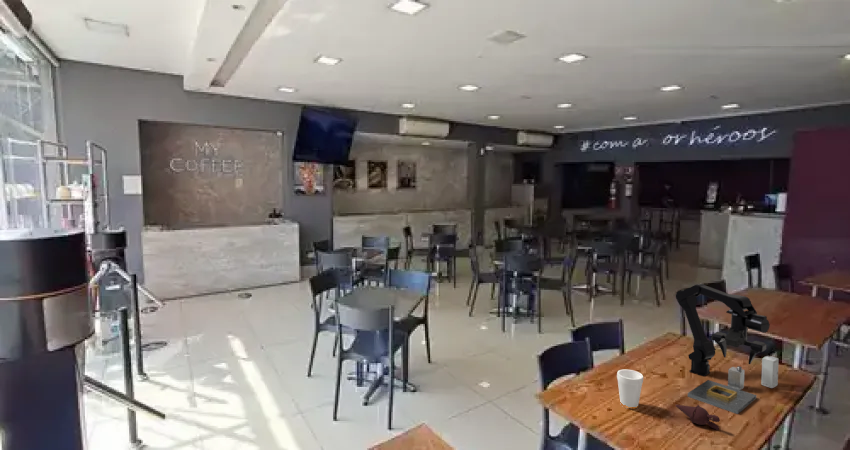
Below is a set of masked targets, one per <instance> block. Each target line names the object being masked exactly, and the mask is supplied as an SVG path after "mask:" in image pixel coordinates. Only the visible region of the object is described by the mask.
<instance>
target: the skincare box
mask: <svg viewBox="0 0 850 450" xmlns="http://www.w3.org/2000/svg"><path fill="white" fill-rule="evenodd" d="M779 360H780V359H779V358H778V357H776V356H775V357H774V356H770V355H766V356H764V357H763V358H762V359H761V381H760V384H761V385H762V386H764V387H767V388H770V389H773V388H775V387H777V386H778V383H779V381H778V380H779Z"/></svg>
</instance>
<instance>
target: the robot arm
mask: <svg viewBox="0 0 850 450" xmlns="http://www.w3.org/2000/svg"><path fill="white" fill-rule="evenodd" d="M700 295H702V296H705V297H707V298H709V299H712V300H716V301H718V302H720V303H722V304H724V305H725V306H726V307H727V308H729V310H726V313H727V314H730V315H731V317H730V321H731V322H730V327H729V331H728V333H725V332H721V331H716V332H714V333H712V334H711V341H710V340H709V339H707V336H706V334H705V331H704V328H703V324H702V322H701V319H700V316H699V314H698V311H697V310H698V309H697V303H698V300H697V297H699V296H700ZM675 299H676V301H677V303H678V305H679V306H680V307H681V308H682V309H683V310H684V313H685V316H686V320H687V322H688V325H689V328H690V332H691V335H692V338H693V346H692V348H693V349H692V350H693V351H692V352H691V353H689V354H688V355H687V356H688V359H689V361H690V362H691V364H690V370H689V372H690V373H693V374H696V375H698V376H702V377H705V376H707V375H709V374H710V373H711V372H710V369H711V368H710V367H711V366H710V364H709V363H710V361H711V360H712V358H714V356H715V355H716V350H717V349H716V348H715V345H714V343H716V344H718V346H719V348H720V350H721V353H722V355H723V356H722V357H723V358H726V357H727V350H728V349H727V348H728V347H727V346H732V347H733V348H739V347H740V346H746V347H750V349H749V357H748V365H751V363H752V362H753V361H754V359H755V357H756V355H757V354H759V353H763V352H765V351H766V350H767V343H766V342H762V341H759V340H754V341H748V336H747V335H748V330H753V331H756V332H759V333H763V334H766V333H767V332H768V331H769V329H770V327H771V326H770V325H771V323H770V321H769V319H768V316H767V315H761V314H758V311H756V309H755V307H754V305H753V304H752V301H751V299H750V298H749V297H747V296H745V295H740V294H731V293H727V292H724V291H721V290H719V289H717V288H713V287H711V286H707V285H705V284H703V283H698V284H694V285H692V286H691V287H688V288H686V289H682V290H678V291H677V292H676V293H675ZM713 341H714V342H713Z"/></svg>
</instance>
